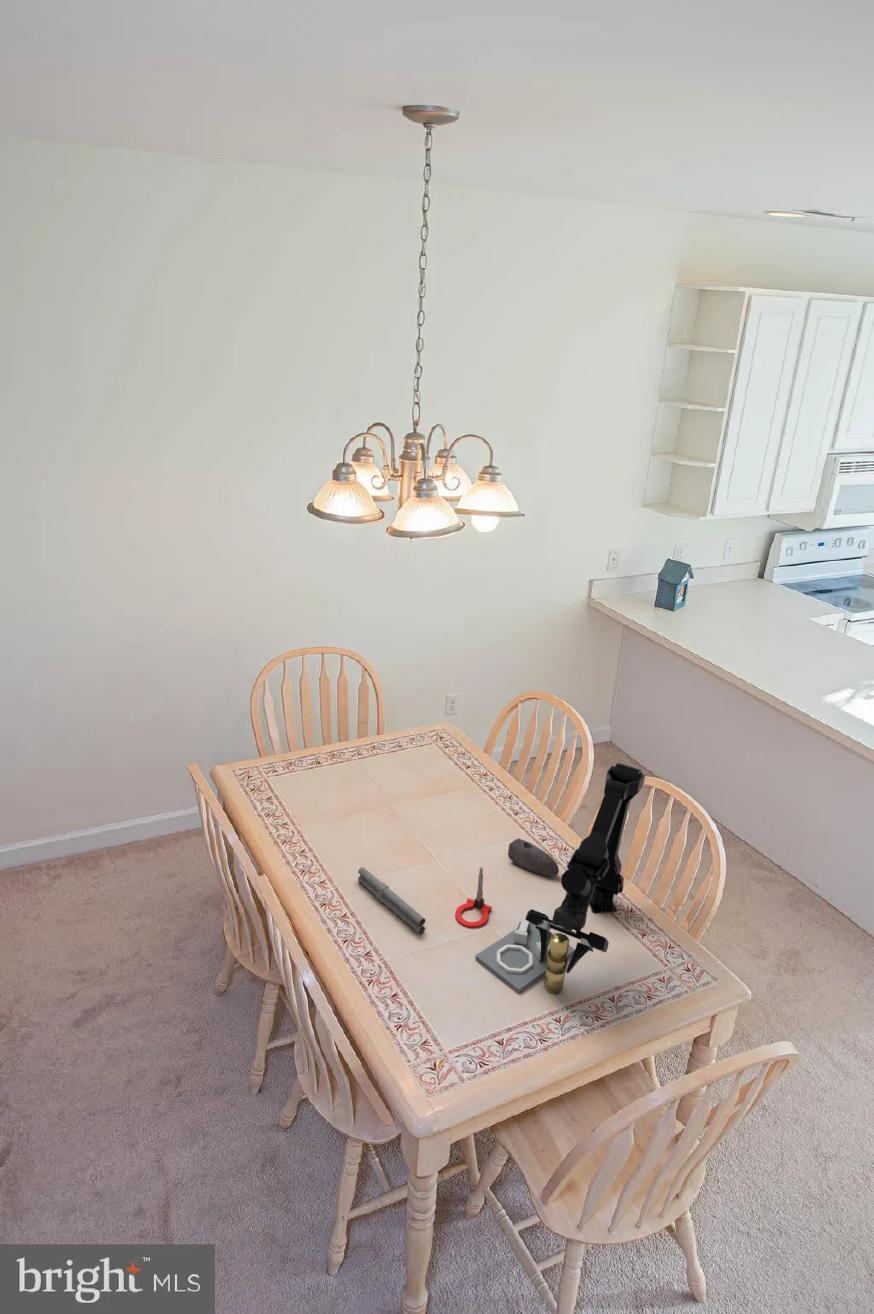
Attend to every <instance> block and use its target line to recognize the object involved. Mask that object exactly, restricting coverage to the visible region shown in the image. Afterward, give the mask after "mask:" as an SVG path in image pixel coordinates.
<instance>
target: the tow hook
mask: <svg viewBox="0 0 874 1314" xmlns="http://www.w3.org/2000/svg"><path fill="white" fill-rule="evenodd" d="M483 869H484V868H483V866H479V873H478V875H477V876H478V879H477V890H476V897H475V898H474V899H472V898H470V897H468V898H467V899H466V902H465V903H463V904H460V905H459V906H458V907H457V908H456V909H455V914H454V916H455V917H454V918H455V920H456V922H457V923H458V924H460V925H461V926H463V927H465V928H468V929H478V928H481V927H483V926H485V925H486V924H487V923H488V921H489V913H490V912H492V908H493V907H492V906H491V905H488V904H485V898H483V896H484V893H483V892H484V891H483V885H484V884H483V883H484V873H483ZM473 908H477V909H480V914H481V918H480V919H479V920H477V921H468V920H466V919H464V918H463V916H462V913H463V912H464V911H466V910H470V909H471V910H472V909H473Z"/></svg>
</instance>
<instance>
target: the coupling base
mask: <svg viewBox="0 0 874 1314" xmlns="http://www.w3.org/2000/svg"><path fill="white" fill-rule="evenodd" d="M525 918H526V917H525ZM525 918H524V917H522V919H521V921H519V923H518V925H517V928H516V929H513V930H512V931H511V932H509V933H508V934H506V935H504V936H503V937H502V938H500V939H498V940H497V941H496V942H493V943H492V944H490V945H489V946H487V947H486V948H485V949H483V950H481V951H480V952H478V953H477V954H475V960H476V961H477V962H478V963H479V964H481V966H483V967H484V968H486V970H488V971H489V972H490V973H492V974H493V975H494V976H495V977H497V978H498V979H499V980H501V981H502V982H503V983H504V984H506V985H507V986H508V987H509V988H510V989H512V990H513V991H514V992H516V993H517V994H520V993H522V992H523V991H524V990H526V989H528V987H529V988H530V986H531V985H533V984H535V982H536V983H537V981H538V980H540V979H541V978H543V976H546V969H547V968H546V961H547V954H548V952H549V946H550V943H549V946H548V950H547V953H546V957H545V959H544V961H543V963H541V938H540V932H539V930H538V929H536V926H537V925H534V924H532V923H529V922H528V921H527V920H525ZM551 933H552V935H553V934H554V933H553V932H551ZM575 949H576V948H575V947H573V946H571V945H570V944H569V947H568V954H567V956H568V959H569V958H570V957H572V956H573V954H574V951H575Z"/></svg>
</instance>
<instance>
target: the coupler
mask: <svg viewBox="0 0 874 1314" xmlns="http://www.w3.org/2000/svg"><path fill="white" fill-rule="evenodd" d="M569 945H570V938H569V937H568V935H567V934H564V933H562V932H558V933H557V932H556V933H553V935H552V936H551V938H550V946H549V952H548V954H547V961H546V968H547V969H546V974H545V978H544V987H543V988H544V990H545V991H546V992H547V993H549V994H551V995H558V994H561V993H562V991H563V988H564V982H565V976H566V975H565V974H566V971H567V968H568V960H569V958H568V956H567V954H568V947H569Z"/></svg>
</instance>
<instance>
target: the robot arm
mask: <svg viewBox="0 0 874 1314" xmlns="http://www.w3.org/2000/svg"><path fill="white" fill-rule="evenodd" d="M642 771H643V770H642V769H640V768H636V767H633V766H629V765H626V764H625V763H624V764H623V763H619V762H617V763H616V764H615V765H611V766H610V768H609V769H608V770H607V771H606V777H605V781H604V782H605V783H604V790H603V791H604V792H603V793H604V794H603V798H602V801H601V803H600V806H599V809H598V812H597V815H596V817H595V820H594V822H593V826H592V828H591V830H590V833H589V835H588V836H586V837H585V838H584V839H582V840H581V842H580V844H579V846H578V848H576V849H575V851H574V853H573V854H572V857H570V859H569V861H568V863H567V865H566V868H567V869H566V870H565V871H564V872H563V873H562V874H561V878H560V883H561V887H562V888H563V890H564V892H566V893H565V896H564V899H563V900H562V902H561V904H560V906H558V907H557V908H555V909H554V911H553V916H552V919H550V917H549V916H548V915H547V914H546V913H542V912H540V911H537V910H535V909H532V908H531V909H529V910H528V911H527V913H526V916H525V920H527V921H528V922H529V923H532V924H534V925H537V926H536V929H538V930H539V932H540V938H541V963H543V961H544V959H545V957H546V953H547V950H548V946H549V943H550V938H551V936H552V933H553V932H551V930H555V931H557V932H558V933H561V934H564V935H566V936H570V937H572V938H575V939H578V940H580V941H577V943H576V946H575V948H574V949H575V951H574V954H573V955H572V956H571V958H570V960H569V963H568V964H567V968H566V971H565V974H566V973H567V974H569V973H570V972H571V971H572V970H573V969H574V967H575V966H576V965H577V963H578V962H579V961H581V959H582V958H583V957H584V956H585V955H586V954H587V953H588V952H589V951H590V952H594V949H596V950H597V951H601V952H602V953H607V950H608V948H609V941H608V940H609V939H607V938H606V937H605V936H603V935H601V934H597V933H594V932H592V931H590V932H589V933H586V932H584V931H582V929H583V928H584V927H585V925H586V922H587V917H588V909H589V907H590V909H591V912H592V913H594V914H596V913H597V914H599V913H614V912H617V911H618V908H617V906H616V905H615V902H614V898H615V896H618V894H620V893H623V891H624V880H625V878H624V876H623V875H622V874H621V872H622V868H623V866H622V863H621V860H620V857H619V851H620V847H621V843H622V838H623V833H624V830H625V826H626V820H627V816H628V812H629V808H630V804H631V801H632V800H633V798H634V797H635V796H637V795H638V794H639V793H640V791H641V789H642V788H643V786H644V784H645V781H646V780H645V778H646V775H645V774H644V773H643V772H642Z"/></svg>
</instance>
